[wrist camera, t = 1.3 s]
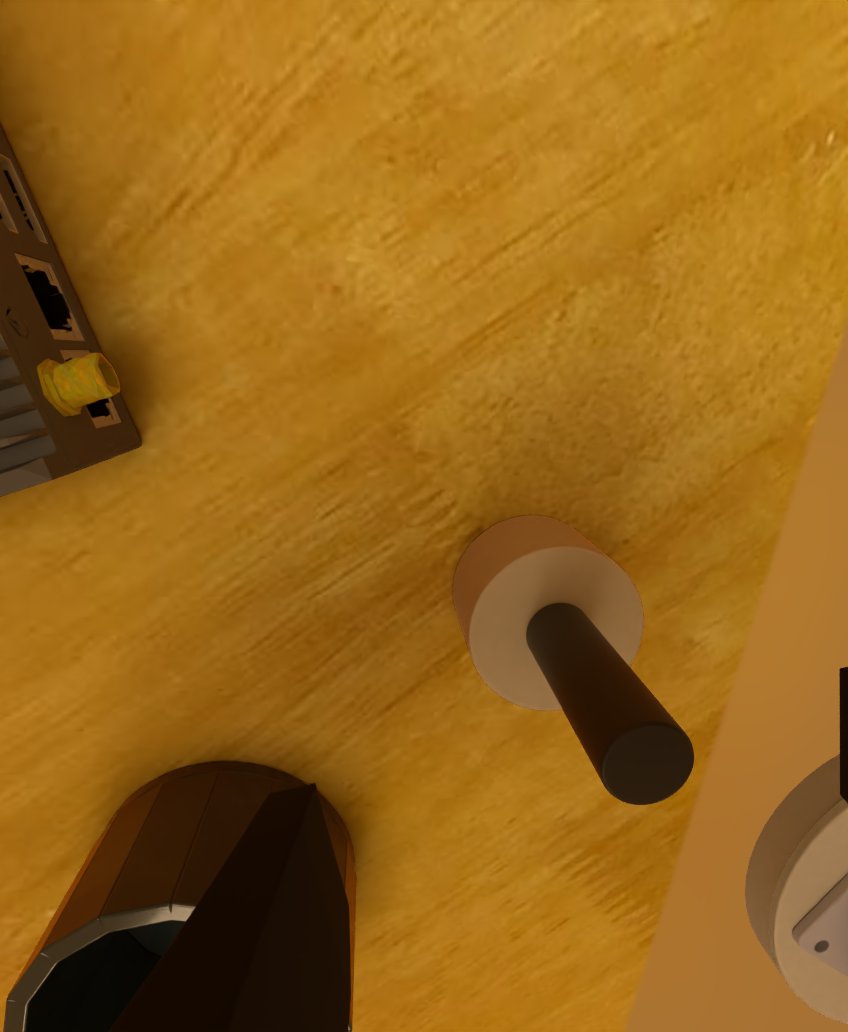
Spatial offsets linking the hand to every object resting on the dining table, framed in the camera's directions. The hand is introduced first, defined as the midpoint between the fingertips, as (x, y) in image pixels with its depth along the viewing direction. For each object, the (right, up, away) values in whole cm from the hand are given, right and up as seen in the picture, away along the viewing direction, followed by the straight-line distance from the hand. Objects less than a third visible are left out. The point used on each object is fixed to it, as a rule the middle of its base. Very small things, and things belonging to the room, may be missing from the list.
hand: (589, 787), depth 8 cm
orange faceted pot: (-8, -8, +11) cm, 16 cm away
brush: (+1, +2, +10) cm, 10 cm away
